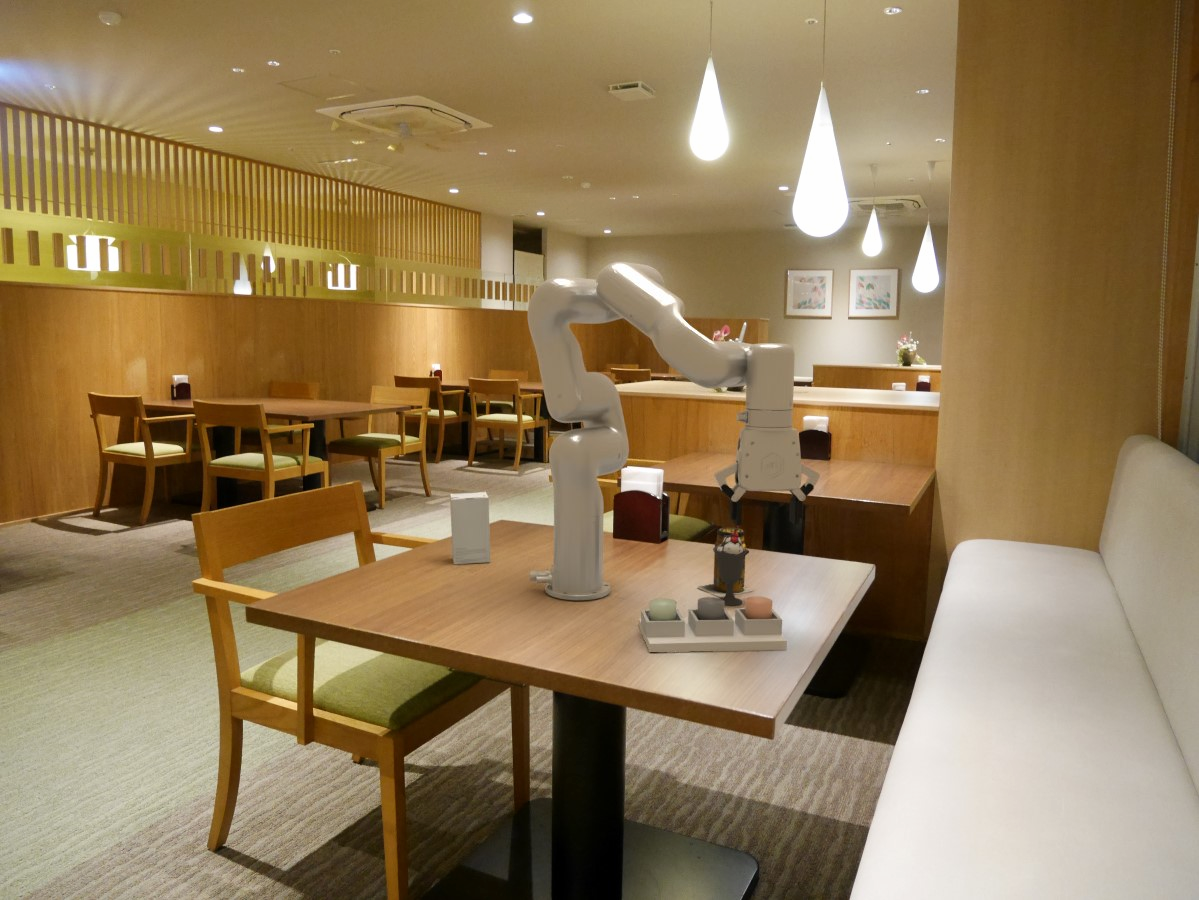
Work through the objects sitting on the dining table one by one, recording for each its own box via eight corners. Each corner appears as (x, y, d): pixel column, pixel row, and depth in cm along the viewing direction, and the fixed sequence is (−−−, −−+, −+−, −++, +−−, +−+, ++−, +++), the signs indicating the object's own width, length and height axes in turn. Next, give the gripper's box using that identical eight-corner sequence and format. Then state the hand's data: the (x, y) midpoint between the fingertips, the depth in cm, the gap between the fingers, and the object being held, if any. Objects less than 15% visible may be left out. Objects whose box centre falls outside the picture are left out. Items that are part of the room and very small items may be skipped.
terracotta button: (748, 622, 140) (749, 604, 139) (741, 613, 144) (742, 596, 144) (775, 622, 140) (775, 604, 140) (767, 613, 144) (768, 596, 144)
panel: (648, 652, 135) (649, 628, 134) (638, 627, 147) (638, 604, 146) (786, 649, 137) (787, 625, 136) (765, 624, 149) (766, 602, 148)
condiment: (753, 591, 169) (755, 531, 167) (720, 598, 164) (722, 536, 162) (728, 582, 175) (730, 524, 173) (696, 588, 170) (698, 529, 168)
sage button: (651, 624, 138) (651, 606, 138) (647, 615, 143) (647, 598, 142) (678, 623, 139) (678, 605, 138) (673, 615, 143) (673, 597, 143)
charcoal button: (700, 623, 139) (700, 605, 139) (694, 614, 143) (695, 597, 143) (726, 623, 139) (727, 605, 139) (720, 614, 144) (721, 596, 143)
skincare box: (488, 556, 192) (488, 491, 190) (490, 563, 186) (490, 496, 184) (450, 558, 190) (449, 492, 188) (451, 565, 184) (451, 497, 182)
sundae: (739, 609, 157) (742, 529, 155) (705, 603, 160) (708, 524, 158) (753, 600, 162) (756, 522, 160) (720, 594, 166) (722, 518, 164)
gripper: (721, 422, 135) (719, 529, 137) (828, 422, 136) (824, 528, 138) (711, 418, 142) (708, 519, 144) (812, 417, 144) (809, 518, 146)
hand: (765, 523), depth 141 cm, fingers open, 9 cm apart
